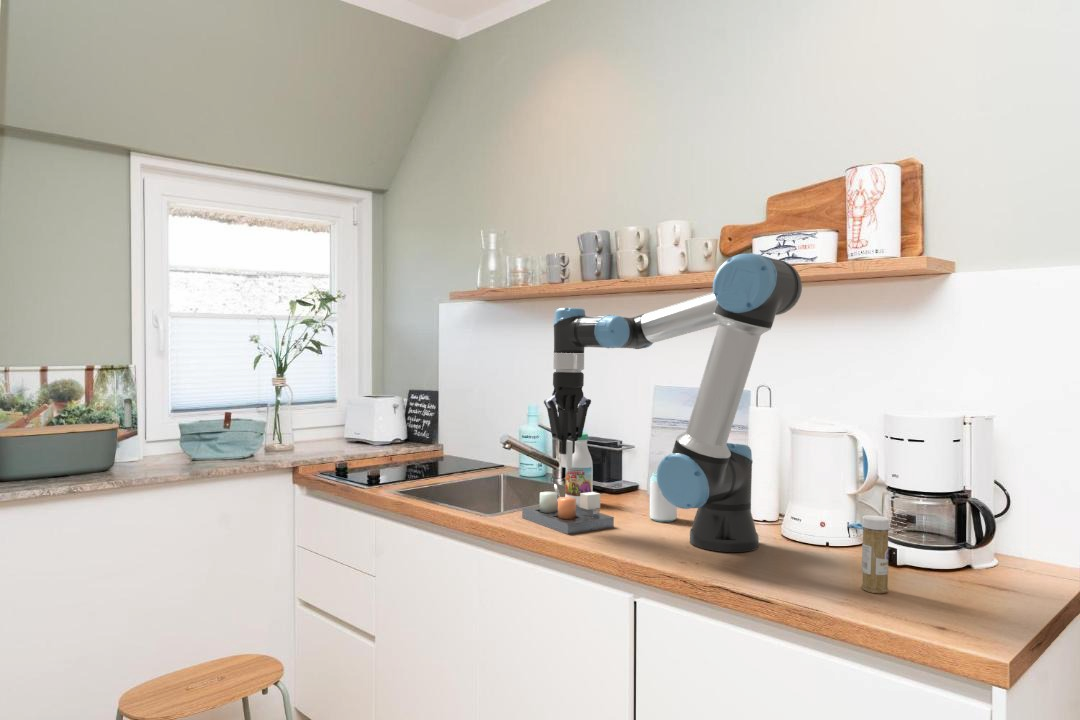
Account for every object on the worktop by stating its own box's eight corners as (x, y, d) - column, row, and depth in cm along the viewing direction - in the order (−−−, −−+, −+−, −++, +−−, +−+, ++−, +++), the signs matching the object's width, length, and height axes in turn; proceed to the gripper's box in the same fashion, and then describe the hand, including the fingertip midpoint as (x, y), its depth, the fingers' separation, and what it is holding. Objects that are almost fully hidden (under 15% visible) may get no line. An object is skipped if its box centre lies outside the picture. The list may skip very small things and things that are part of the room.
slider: (600, 507, 181) (600, 493, 181) (587, 509, 178) (587, 495, 178) (592, 505, 183) (593, 491, 183) (580, 507, 181) (580, 493, 181)
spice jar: (889, 595, 130) (890, 520, 130) (861, 592, 132) (862, 518, 131) (887, 588, 134) (888, 515, 134) (860, 585, 136) (861, 513, 136)
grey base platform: (613, 527, 179) (614, 495, 179) (567, 534, 171) (568, 501, 171) (564, 511, 196) (565, 482, 196) (520, 517, 188) (521, 487, 188)
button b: (560, 511, 184) (560, 493, 184) (545, 513, 182) (546, 495, 182) (550, 508, 188) (550, 491, 188) (536, 510, 185) (536, 492, 185)
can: (675, 517, 191) (676, 471, 191) (678, 523, 184) (678, 476, 184) (648, 516, 192) (649, 470, 192) (650, 522, 185) (650, 475, 185)
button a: (579, 517, 177) (579, 499, 177) (564, 519, 175) (564, 501, 175) (568, 514, 181) (568, 496, 181) (554, 516, 179) (554, 498, 179)
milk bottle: (567, 500, 211) (568, 431, 211) (594, 501, 209) (595, 432, 209) (563, 505, 203) (564, 434, 203) (590, 507, 202) (591, 435, 202)
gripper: (580, 370, 184) (578, 463, 185) (537, 370, 177) (535, 466, 178) (598, 371, 178) (596, 467, 179) (555, 371, 171) (553, 471, 171)
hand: (566, 467), depth 178 cm, fingers closed
